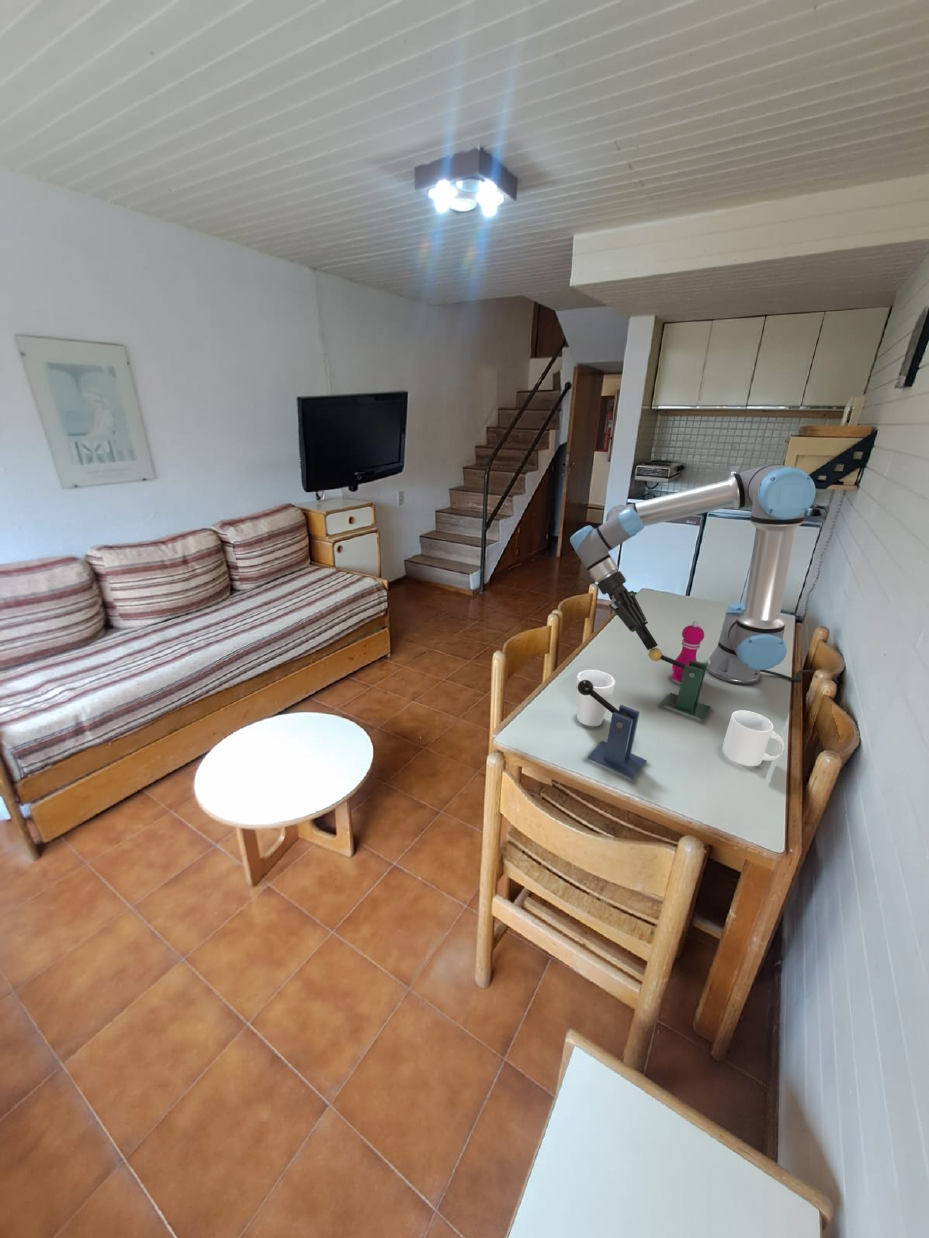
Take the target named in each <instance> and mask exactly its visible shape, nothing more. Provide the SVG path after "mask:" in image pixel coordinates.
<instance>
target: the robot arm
mask: <svg viewBox="0 0 929 1238" xmlns="http://www.w3.org/2000/svg"><path fill="white" fill-rule="evenodd" d="M816 490H817V489H816V485H815V482H814V480H813V478H812V477H811V476H810V475H809V474H807V473H806V472H805V471H804V470H802V469H800V468H797V467H794V466H788V465H785V464H782V463H770V464H764V465H761V466H757V467H754V468H751V469H748V470H745V471H741V472H738V473H734V474H730V475H729V477H728V478H727V479H723V480H720V481H717V482H713V483H709V484H705V485H701V486H697V487H692V488H690V489H684V490H681V491H676V492H672V493H669V494H664V495H661V496H657V497H653V498H649V499H645V500H642V501H638V502H634V503H629V504H625V505H624V504H616V505H614V506H612V507H611V508H610V509H609V511H608V512H607V514H606V516H605V518H606V519H605V522H604V523H602V524H600V525H599V526H598V527H595V528H594V527H593V526H592V525H586V526H584V527H581V529H579V530H577V531H576V532H575V533H573V534H572V535H571V536H570V538H569V543H570V544H571V546H572V548H573V549H574V552H575V554H576V555H577V557H578V558H579V559H580V561H581V563H582V564H583V565H584V567H585V568H586V570H587V572H588V573H589V576H590V577H591V578H592V579H593V581H594V582H595V583H597V584H596V586H597V588H598V589H599V591H600V593H601V594H602V595H606V594H607V595H608V598H609V600H610V601H611V602H610V603H609V604H608V607H609V608H610V609H611V610H612V611H613V612H614V613H615V614H616V615H617V616H618V618H619V619H620V621H622V623H623V624H624V625H625V627H626V628H627V629H628V630H629V631H630V632H631V633H634V632H635V633H636V634H637V636H638V638H639V639H640V640H641V642H642V644H643V646H644V647H645V648H646V650H647V651H650V650H651V649H653V648H657V646H658V645H659V644H658V643H657V641H656V640H655V638H654V637H653V635H652V633H651V632H650V630H649V629H648V627H647V626H646V625H647V624H648V620H647V618H646V616H645V613H644V612H643V609H642V607H641V606H640V603H639V602H638V600H637V598H636V594H635V591H634V590H631V591H629V590H628V588H627V587H626V586H625V585H624V584H625V583H626V582H627V579H626V577H625V576H624V575H623V573H622V571H621V570H619V566H618V565H617V563H616V562H615V560H614V559H613V558H612V556H611V554H610V553H609V552H610V551H612V550H613V549H615V548H616V547H618V546H620V545H621V544H623V543H624V542H626V541H628V540H629V539H631V538H632V537H635V536H636V535H637V534H638V533H640V532H641V531H642V530H644V528H645V527H648V526H653V525H658V524H661V523H666V522H670V521H674V520H679V519H683V518H687V517H691V516H696V515H701V514H705V513H710V512H714V511H718V510H723V509H726V508H734V509H736V510H739V509H743V508H750V507H751V514H750V523H751V524H752V525H753V526H754V527H755V534H754V539H753V547H752V554H751V561H750V568H749V575H748V582H747V587H746V588H747V589H746V596H745V602H733V603H730V604H729V605H728V606H727V609H726V611H725V615H724V620H723V624H722V627H721V631H720V636H719V640H718V643H717V646H716V648H715V649H714V650H713V652H712V653H711V654H710V656H709V657H708V658H707V660H706V664H707V669H706V672H708V673H709V674H710V675H712V676H713V677H715V678H717V679H718V680H722V681H725V682H727V683H731V684H737V685H752V684H756V683H757V682H759V679H760V676H761V673H764V674H769V675H773V676H777V677H780V678H783V679H785V680H790V681H793V682H800V681H802V680H803V676H802V674H815V673H814V671H815V670H813V669H800V670H798V671H797V676H798V677H791V676H788V675H786V674H782V673H779V672H776V671H772V670H770V669H774V667H776V666H778V665H780V664H781V663H782V662H783V661H784V660H785V658H786V656H787V652H788V651H787V650H788V649H787V645H786V642H785V640H784V633H785V629H786V628H785V627H786V620H785V619H784V618H783V617H782V616H781V613H782V612H781V611H782V606H783V601H784V595H785V589H786V583H787V577H788V571H789V566H790V559H791V554H792V549H793V542H794V537H795V536H794V535H795V530H796V529H797V528H798V527H800V526H801V525H802V524H803V523H804V521H805V516H806V511H808V510H809V509H810V508H811V506H812V505H813V503H814V501H815V498H816ZM832 681H833V682H834V681H835V683H839V680H838V679H837V678H836V677H835V678H834V679H833V680H832Z"/></svg>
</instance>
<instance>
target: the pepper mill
mask: <svg viewBox="0 0 929 1238" xmlns="http://www.w3.org/2000/svg"><path fill="white" fill-rule="evenodd" d="M699 625H700V623H699V622H698V621H696V620H695V621H692V623H691V625H687V626H685V627H684V628H683V629H682V632H681V636H682V640H681V646H682V647H681V651H680V652H679V654H678V656H677V657H676V659H675V660H676V661H678V662H680V663H683V664H685V665H689V661H690V660H694V661H697V662H698V660H697V652H698V650H699V649H700V648H701V642H702V641H703V640H704V638H705V632H704V630H703V628H702V627H701V626H699ZM671 669H672V671H673V672H672V674H671V678H672V679H673V680H675V681H676V682H679V683H681V681H682V677H683V673H684V669H682V668H680V667H678V666H675V665H673V664H672V666H671Z"/></svg>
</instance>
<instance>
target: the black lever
mask: <svg viewBox="0 0 929 1238" xmlns="http://www.w3.org/2000/svg"><path fill="white" fill-rule="evenodd" d="M593 688H594V687H593V684H592V683H591V682H590V681H588V680H582V681H581V682H579V684H578V691H579V693H580V694H582V695H590V696H592V697H593V698H594V699H595V700H597V701H598V702H599V703H600V704H601V705H603V706H604V707H605V708H606V710H608V712H610V713H611V714H613V713H614V712H615V713H618V714H620V715H623V716H625V717H628V718H630V719H633V720H634V718H633V717H632V716H631V715H630V714H629V713H627V712H626V711H625V710H624V711H623V712H622V713H621V712H620V711H619V709H618V708H616V707H615V706H614V705H613V704H611V703H610V701H609V702H607V701H606V700H605V699H604V698H602V697H601V696H600V695H599V694H597V693H596V692H595V691H594V690H593Z"/></svg>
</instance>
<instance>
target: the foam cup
mask: <svg viewBox="0 0 929 1238" xmlns="http://www.w3.org/2000/svg"><path fill="white" fill-rule="evenodd" d="M582 680H588V681H590V682H591V683H592V684H593V687H594V688H593V690H594V691H595V692H596V693H597V694H599V695H600V696H601V697H602V698H604V699H605V700H606V701H607V702H609V703H610V701H611V697H612V695H613V693H614V691H615V687H616V680H615V678H614V677H613V676H612V675H611V674H609V673H608V672H605V671H602V670H599V669H584V670H582V671H578V674H577V675H576V681H575V685H576V719H577V721H578V722H580V723H581V724H583V725H585V726H588V727H598V726H600V725H602V723H603V721H604V718H605V716H606V715H605V714H606V712H607V709H606V708H605V707H604V706H603V705H601V704H600V703H599V702H598V701H597V700H595V699H594V698H593V697H592V696H590V695H582V694H580V693H579V691H578V684H579V682H581V681H582Z"/></svg>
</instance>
